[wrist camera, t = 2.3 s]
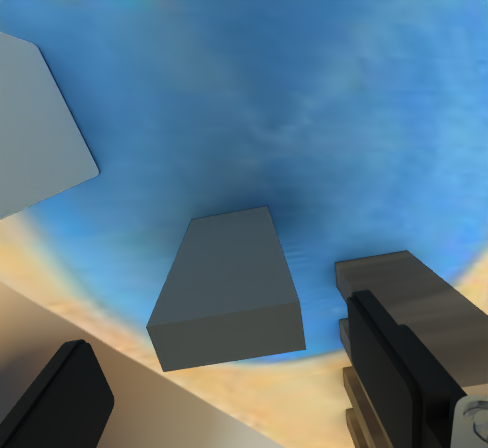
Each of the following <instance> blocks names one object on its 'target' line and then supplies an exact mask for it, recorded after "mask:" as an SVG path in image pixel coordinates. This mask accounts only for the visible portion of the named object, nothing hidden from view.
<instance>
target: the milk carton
mask: <svg viewBox="0 0 488 448" xmlns="http://www.w3.org/2000/svg"><path fill="white" fill-rule="evenodd" d="M97 175H99V170H98V168H97V166H96V164H95V162H94V160H93V158H92V156H91V154H90V152H89V149H88V147H87V145H86V143H85V141H84V139H83V137H82V135H81V133H80V131H79V129H78V127H77V125H76V123H75V121H74V119H73V117H72V115H71V113H70V111H69V109H68V107H67V105H66V103H65V101H64V99H63V97H62V95H61V93H60V91H59V89H58V87H57V85H56V83H55V81H54V79H53V77H52V75H51V73H50V71H49V69H48V67H47V65H46V63H45V61H44V59H43V57H42V55H41V53H40V51H39V49H38V47H37V46H36V45H35V44H33V43H31V42H28V41H25V40H22V39H19V38H16V37H13V36H10V35H8V34H5V33H2V32H0V220H1V219H3V218H5V217H7V216H10V215H12V214H14V213H16V212H18V211H21V210H23V209H25V208H27V207H29V206H32V205H34V204H36V203H38V202H40V201H43V200H45V199H47V198H49V197H52V196H54V195H56V194H58V193H60V192H63V191H65V190H67V189H69V188H71V187H74V186H76V185H78V184H80V183H82V182H85V181H87V180H89V179H91V178H94V177H96V176H97Z"/></svg>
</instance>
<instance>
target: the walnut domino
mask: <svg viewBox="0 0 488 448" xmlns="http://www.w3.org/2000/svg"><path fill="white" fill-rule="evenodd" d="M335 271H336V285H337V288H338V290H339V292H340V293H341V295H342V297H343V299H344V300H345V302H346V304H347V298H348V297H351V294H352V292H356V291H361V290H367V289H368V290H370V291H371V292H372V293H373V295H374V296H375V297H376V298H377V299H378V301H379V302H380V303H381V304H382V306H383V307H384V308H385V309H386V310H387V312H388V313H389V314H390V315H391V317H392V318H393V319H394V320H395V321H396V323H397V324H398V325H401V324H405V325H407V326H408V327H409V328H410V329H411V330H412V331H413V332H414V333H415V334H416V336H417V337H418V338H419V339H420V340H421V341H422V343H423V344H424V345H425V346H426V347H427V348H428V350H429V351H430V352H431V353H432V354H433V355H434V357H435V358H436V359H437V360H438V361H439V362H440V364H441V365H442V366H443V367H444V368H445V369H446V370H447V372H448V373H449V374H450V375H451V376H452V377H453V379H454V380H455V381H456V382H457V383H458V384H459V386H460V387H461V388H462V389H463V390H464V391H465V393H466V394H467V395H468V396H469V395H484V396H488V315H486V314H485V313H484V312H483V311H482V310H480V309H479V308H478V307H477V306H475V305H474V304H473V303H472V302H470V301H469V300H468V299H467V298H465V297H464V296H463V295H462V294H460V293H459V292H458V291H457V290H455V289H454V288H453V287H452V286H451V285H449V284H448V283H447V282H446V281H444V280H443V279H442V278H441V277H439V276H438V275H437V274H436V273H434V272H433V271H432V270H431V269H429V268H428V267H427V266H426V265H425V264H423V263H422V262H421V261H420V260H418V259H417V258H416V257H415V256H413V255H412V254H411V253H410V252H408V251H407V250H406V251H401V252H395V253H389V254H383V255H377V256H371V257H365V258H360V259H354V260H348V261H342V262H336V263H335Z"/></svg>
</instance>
